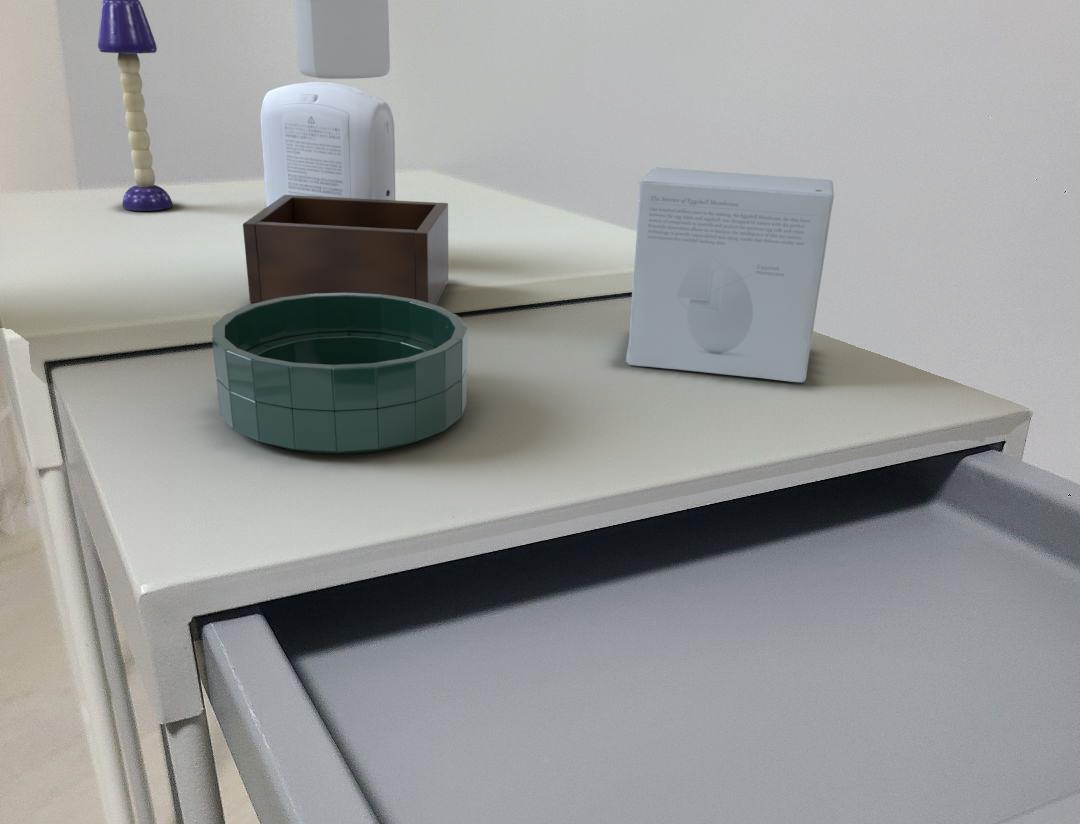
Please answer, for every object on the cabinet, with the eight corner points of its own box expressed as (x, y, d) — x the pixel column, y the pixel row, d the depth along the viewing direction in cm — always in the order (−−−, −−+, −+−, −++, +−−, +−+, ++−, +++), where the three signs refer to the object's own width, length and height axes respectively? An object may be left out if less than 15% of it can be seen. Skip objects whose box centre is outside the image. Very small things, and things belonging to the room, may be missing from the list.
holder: (250, 311, 69) (242, 223, 67) (289, 274, 78) (283, 194, 75) (428, 321, 69) (427, 233, 66) (448, 282, 77) (448, 202, 75)
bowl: (186, 453, 49) (173, 360, 47) (262, 366, 60) (254, 287, 58) (448, 468, 49) (447, 375, 47) (477, 378, 60) (478, 299, 58)
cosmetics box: (806, 351, 66) (835, 175, 61) (805, 385, 61) (836, 195, 56) (639, 333, 68) (654, 161, 63) (623, 365, 63) (638, 179, 58)
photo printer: (405, 257, 83) (402, 85, 77) (379, 269, 80) (373, 90, 74) (291, 241, 86) (280, 75, 80) (261, 252, 83) (246, 79, 77)
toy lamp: (112, 204, 96) (81, -4, 88) (161, 199, 99) (136, -3, 91) (135, 213, 93) (106, -1, 85) (185, 208, 96) (161, 0, 88)
